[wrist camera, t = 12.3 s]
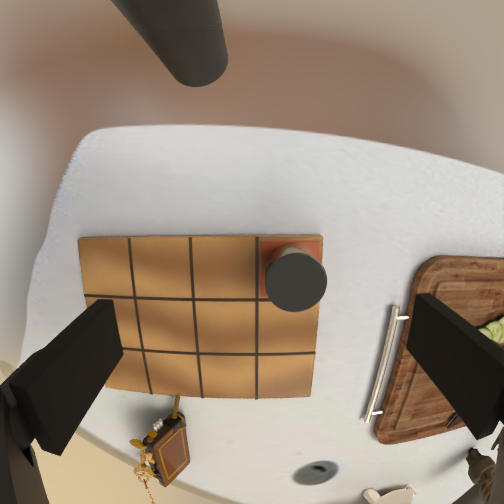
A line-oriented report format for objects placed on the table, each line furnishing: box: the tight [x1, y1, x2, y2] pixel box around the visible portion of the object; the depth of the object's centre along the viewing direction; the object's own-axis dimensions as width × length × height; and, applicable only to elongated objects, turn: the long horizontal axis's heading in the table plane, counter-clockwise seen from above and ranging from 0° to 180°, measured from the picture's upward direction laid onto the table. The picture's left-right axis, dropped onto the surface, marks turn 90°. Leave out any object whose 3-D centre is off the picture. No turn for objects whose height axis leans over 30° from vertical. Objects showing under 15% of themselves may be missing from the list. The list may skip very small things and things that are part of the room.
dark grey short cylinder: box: [263, 243, 327, 312], centre depth 27 cm, size 5×5×4 cm
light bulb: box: [466, 448, 496, 504], centre depth 31 cm, size 6×6×15 cm
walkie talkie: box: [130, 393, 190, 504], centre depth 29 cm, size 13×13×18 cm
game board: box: [78, 235, 323, 399], centre depth 30 cm, size 18×24×1 cm
